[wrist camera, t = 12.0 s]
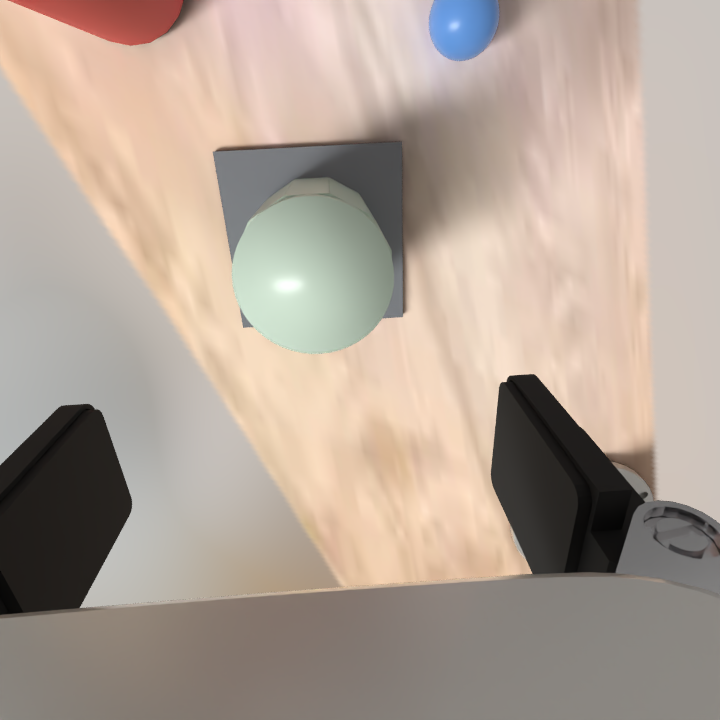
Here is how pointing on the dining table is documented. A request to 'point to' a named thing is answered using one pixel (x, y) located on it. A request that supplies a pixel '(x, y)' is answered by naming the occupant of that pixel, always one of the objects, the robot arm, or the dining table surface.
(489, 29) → the marble
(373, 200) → the slate mat
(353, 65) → the dining table surface
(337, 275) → the mint green domed cylinder
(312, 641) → the robot arm
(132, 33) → the beer can
